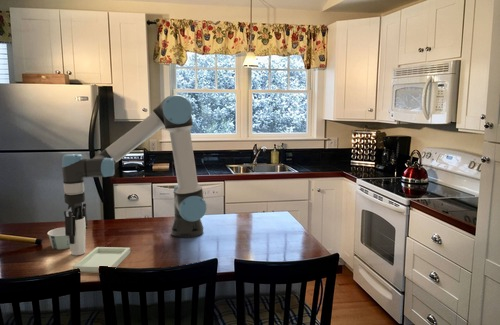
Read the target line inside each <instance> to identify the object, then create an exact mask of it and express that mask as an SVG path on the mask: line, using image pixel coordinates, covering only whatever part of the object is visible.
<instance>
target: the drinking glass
mask: <svg viewBox="0 0 500 325" xmlns="http://www.w3.org/2000/svg"><path fill="white" fill-rule="evenodd" d="M72 217H75V216H72ZM75 224H76V232H75V235H77V248H78V251H70V253H71V255H72V256H81V255H84V254H85V253H86V245H85V240H86V230H87V229H86V227H87V226H86V222H85V217H84V216H82V219H80V220H75Z"/></svg>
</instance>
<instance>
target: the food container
mask: <svg viewBox="0 0 500 325" xmlns="http://www.w3.org/2000/svg"><path fill="white" fill-rule="evenodd" d="M47 236H48V237H49V238H48V239H49V241H50V244H51V249H54V250H64V249H65V250H67V249H70V242H69V236H66V235H65V226H63V227H57V228H54V229H53V228H52V229H51V230H49V231H48V232H47Z"/></svg>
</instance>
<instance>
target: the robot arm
mask: <svg viewBox="0 0 500 325" xmlns="http://www.w3.org/2000/svg"><path fill="white" fill-rule="evenodd" d="M191 103H192V102H190V100H189V99H188V98H187V97H186V96H184V95H182V94H172V95H169V96H167V97H165V98H164V99H163V100H162V101H161V102H160V103H159V104H158V105H157V106H156V107H155V108H154V109H153V110H151V114H149V115H148V116H147V117H145V118H144V119H143V120H142V121H141V122H139V123H137V124H136V125H135V126H134V127H132V128H131V129H130V130H129V131H127V132H125V133H124V134H123V135H121V136H120V137H119V138H118V139H117V140H115V141H114V142H113V143H112V144H110V145H109V146H107V147H106V148H105V149H104V150H102V151H101V152H100V153H98V154H96V155H94V157H93V158H83V154H81V153H68V154H67V153H66V154H64V155H63V156H62V157H61V160H62V162H61V169H62V179H63V180H62V183H63V185H62V187H63V191H64V192H63V193H64V203H65V204H67V205H68V207H67V210H65V211H63V216H64V227H65V235H66V236H69V242H70V248H69V252H71V251H78V248H77V235H75V232H76V224H75V220H80V219H82V216H84V217H85V222H86V230H88V216H87V204H86V203H85V202H86V195H85V179H84V178H107V177H113V176H114V175H115V173H116V172H115V170H116V169H115V164H117V163H118V162H119V161H121V160H122V159H124V157H126V156H127V155H128V154H129V153H131V152H132V151H134V150H135V149H136V148H138V147H139V146H140V145H142V144H143V143H145V141H146V140H148V139H150V138H151V137H152V136H154V135H155V134H156V133H158V132H159V131H160V130H161V129H165V130H166V131H167V132H168V133H169V137H170V144H171V148H172V157H173V163H174V168H175V175H176V181H177V185H176V186H174V188H173V203H174V204H173V208H174V211H173V212H174V217H173V222H172V225H171V231H170V232H171V233H170V234H171V236H174V237H176V238H184V239H186V238H194V237H198V236H201V235H203V234H204V226H203V222H202V220H201V219H202V218H203V217H204V216H205V214H206V212H207V208H208V207H207V203H206V199H205V198H204V191H203V186H201V185H200V184H199V182H198V176H197V175H198V174H197V167H196V161H195V155H194V148H193V141H192V134H191V129H192V128H193V126H194V125H193V124H194V123H193V118H192V117H193V116H192V115H193V106H192V104H191ZM73 216H75V217H73ZM86 245H87V243H86V239H85V246H86Z"/></svg>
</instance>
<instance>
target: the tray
mask: <svg viewBox="0 0 500 325" xmlns="http://www.w3.org/2000/svg"><path fill="white" fill-rule="evenodd" d="M130 254H131V247H120V246H119V247H118V246H116V247H115V246H114V247H113V246H111V247H110V246H109V247H108V246H106V247H105V246H96V247H95V248H94V249H92V250H91V251H90V252H89V253H88V254H86V255H85V256H84V257H83V258H82V259H80V260H79V261H78V262H76V263H75V264H74V265H73V266H72V270H73V269H77V268H79V269H80V271H81V272H80V273H91V274H92V273H94V274H96V273H99V272H98V268H99V266H108V267H116V268H117V267H119V265H120V264H121V263H122V262H123V261H124V260H125V259H126V258H127V257H128V256H129V255H130ZM99 274H100V273H99Z"/></svg>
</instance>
